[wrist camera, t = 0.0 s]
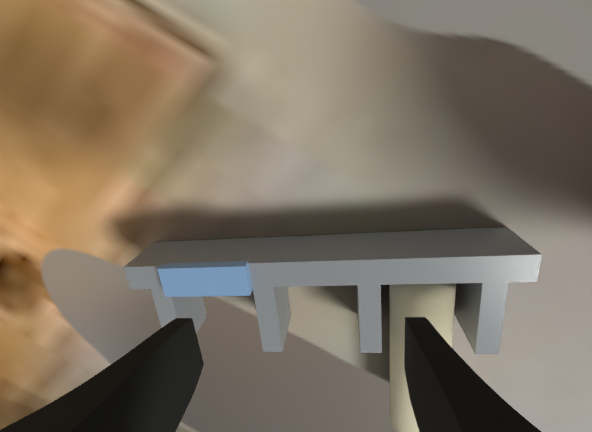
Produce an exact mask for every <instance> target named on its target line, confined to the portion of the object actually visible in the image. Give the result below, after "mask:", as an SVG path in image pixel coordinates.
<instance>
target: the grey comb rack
mask: <svg viewBox="0 0 592 432" xmlns="http://www.w3.org/2000/svg"><path fill="white" fill-rule="evenodd" d="M541 255H542V254H540V253H539V252H538V251H537V250H535V249H534V248H533V247H532V246H530V245H529V244H528V243H527V242H525V241H524V240H523V239H521V238H520V237H519V236H518V235H516V234H515V233H514V232H513V231H511V230H510V229H509V228H508V227H494V228H471V229H447V230H424V231H400V232H377V233H353V234H330V235H306V236H283V237H259V238H236V239H212V240H189V241H165V242H154V243H153V244H152V245H151V246H149V247H148V248H147V249H146V250H144V251H143V252H142V253H141V254H139V255H138V256H137V257H136V258H134V259H133V260H132V261H131V262H129V263H128V264H127V265H126V266H124V270H125V274H126V277H127V280H128V283H129V287H130V289H132V290H133V289H151V292H152V296H153V299H154V303H155V306H156V310H157V313H158V317H159V320H160V324H161V327H164V326H165V325H167V324H168V323H169V322H171V321H173V320H174V319H176V318H192V319H193V323H194V327H195V331H196V333H197V331H198V329H199V328H200V326H201V325H202V323H203V321H204V320H205V318H206V316H207V314H206V310H205V305H204V301H203V296H250V295H251V293H252V290H253V294H254V300H255V306H256V312H257V318H258V323H259V329H260V335H261V341H262V347H263V351H265V352H283V348H284V343H285V339H286V334H287V330H288V325H289V321H290V316H291V313H290V305H289V297H288V289H287V287H292V286H344V285H356V291H357V313H358V326H359V339H360V352H361V353H382V328H381V285H397V284H450V283H457V288H456V301H455V316H456V318H457V320H458V322H459V324H460V326H461V328H462V330H463V332H464V333H465V335H466V337H467V339H468V341H469V343H470V345H471V347H472V349H473V351H474V353H475V354H499V349H500V342H501V334H502V327H503V319H504V312H505V304H506V297H507V289H508V282H537V279H538V273H539V267H540V261H541Z"/></svg>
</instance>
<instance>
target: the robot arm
mask: <svg viewBox="0 0 592 432" xmlns="http://www.w3.org/2000/svg"><path fill="white" fill-rule="evenodd" d="M202 367H203V360H202V355H201V351H200V347H199V344H198V339H197V335H196V331H195V327H194V323H193V319H192V318H176V319H174V320H173V321H171V322H169V323H168V324H167V325H165V326H164V327H162V328H161V329H160V330H158V331H157V332H155V333H154V334H153V335H151V337H149V338H147V339H146V340H145V341H143V342H142V343H141V344H139V345H138V346H136V348H134V349H133V350H131V351H130V352H129V353H127V354H126V355H124V356H123V357H122V358H120V359H119V360H117V361H116V362H114V363H113V364H111V365H110V366H108V367H107V368H105V369H104V370H103V371H101V372H100V373H98V374H97V375H95V376H94V377H92V378H91V379H89V380H88V381H86V382H85V383H83V384H82V385H80V386H78V387H77V388H75V389H74V390H72V391H70V392H69V393H67V394H65V395H64V396H62V397H60V398H59V399H57V400H55V401H54V402H52V403H50V404H48V405H47V406H45V407H43V408H41V409H39V410H37V411H35V412H34V413H32V414H30V415H28V416H26V417H24V418H22V419H20V420H19V421H17V422H15V423H13V424H11V425H9V426H7V427H5V428H3V429H1V430H0V432H175V431H176V429H177V427H178V425H179V423H180V421H181V419H182V416H183V415H184V413H185V410H186V408H187V406H188V404H189V402H190V400H191V398H192V395H193V393H194V391H195V388H196V385H197V383H198V380H199V377H200V374H201V371H202ZM404 369H405V375H406V380H407V386H408V391H409V397H410V401H411V405H412V408H413V412H414V415H415V419H416V422H417V426H418V429H419V432H541V431H540V430H538V429H537V428H536V427H535V426H533V425H532V424H531V423H530V422H529V421H527V420H526V419H525V418H524V417H523V416H521V415H520V414H519V413H518V412H517V411H516V410H514V409H513V408H512V407H511V406H510V405H509V404H508V403H507V402H505V401H504V400H503V399H502V398H501V397H500V396H499V395H498V394H497V393H496V392H495V391H494V390H493V389H491V388H490V387H489V386H488V385H487V384H486V383H485V382H484V381H483V380H482V379H481V378H480V377H479V376H478V375H477V374H476V373H475V372H474V371H473V370H472V369H471V368H470V367H469V366H468V365H467V364H466V362H465V361H464V360H463V359H462V358H461V357H460V356H459V355H458V354H457V353H456V352H455V351H454V350H453V348H452V347H451V346H450V345H449V344H448V343H447V342H446V341H445V339H444V338H443V337H442V336H441V335H440V334H439V332H438V331H437V330H436V329H435V328H434V326H433V325H432V324H431V323H430V321H429V320H428V319H427V318H426V317H405V350H404Z"/></svg>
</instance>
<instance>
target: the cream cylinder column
mask: <svg viewBox="0 0 592 432" xmlns="http://www.w3.org/2000/svg"><path fill="white" fill-rule="evenodd" d="M455 294H456V283H450V284H397V285H389V310H390V420H391V423H392V426H393V428H394V431H395V432H419V429H418V426H417V422H416V419H415V415H414V412H413V408H412V405H411V401H410V397H409V391H408V386H407V380H406V375H405V369H404V350H405V317H426V318H427V319H428V320H429V321H430V323H431V324H432V325H433V326H434V328H435V329H436V330H437V331H438V332H439V334H440V335H441V336H442V337H443V338H444V339H445V341H446V342H447V343H448V344H449V345H450V346H451V347H452V336H453V322H454V308H455Z"/></svg>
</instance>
